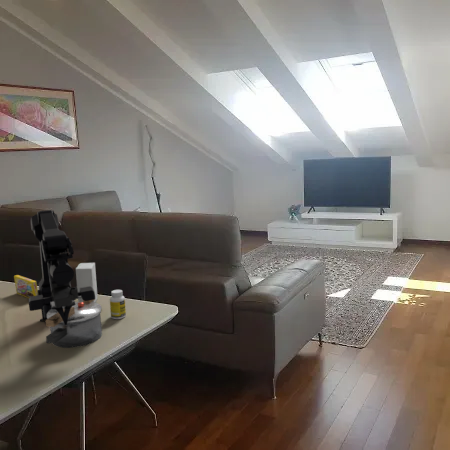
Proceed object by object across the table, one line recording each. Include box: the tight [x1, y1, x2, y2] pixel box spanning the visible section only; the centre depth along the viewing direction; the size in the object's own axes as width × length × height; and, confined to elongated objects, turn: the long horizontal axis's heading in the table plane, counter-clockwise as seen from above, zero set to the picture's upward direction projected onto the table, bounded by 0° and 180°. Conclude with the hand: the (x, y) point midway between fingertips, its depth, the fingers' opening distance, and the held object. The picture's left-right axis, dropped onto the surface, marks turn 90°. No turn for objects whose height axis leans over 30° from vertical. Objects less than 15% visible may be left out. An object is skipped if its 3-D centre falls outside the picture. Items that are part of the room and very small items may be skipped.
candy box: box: [13, 274, 38, 299], centre depth 198 cm, size 16×2×8 cm, turn 50°
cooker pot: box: [45, 313, 103, 349], centre depth 153 cm, size 16×26×8 cm, turn 168°
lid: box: [45, 299, 103, 327], centre depth 152 cm, size 24×17×3 cm
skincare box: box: [75, 262, 98, 303], centre depth 187 cm, size 8×7×16 cm
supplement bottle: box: [109, 289, 127, 320], centre depth 171 cm, size 5×5×10 cm
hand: (65, 324), depth 143 cm, fingers closed
